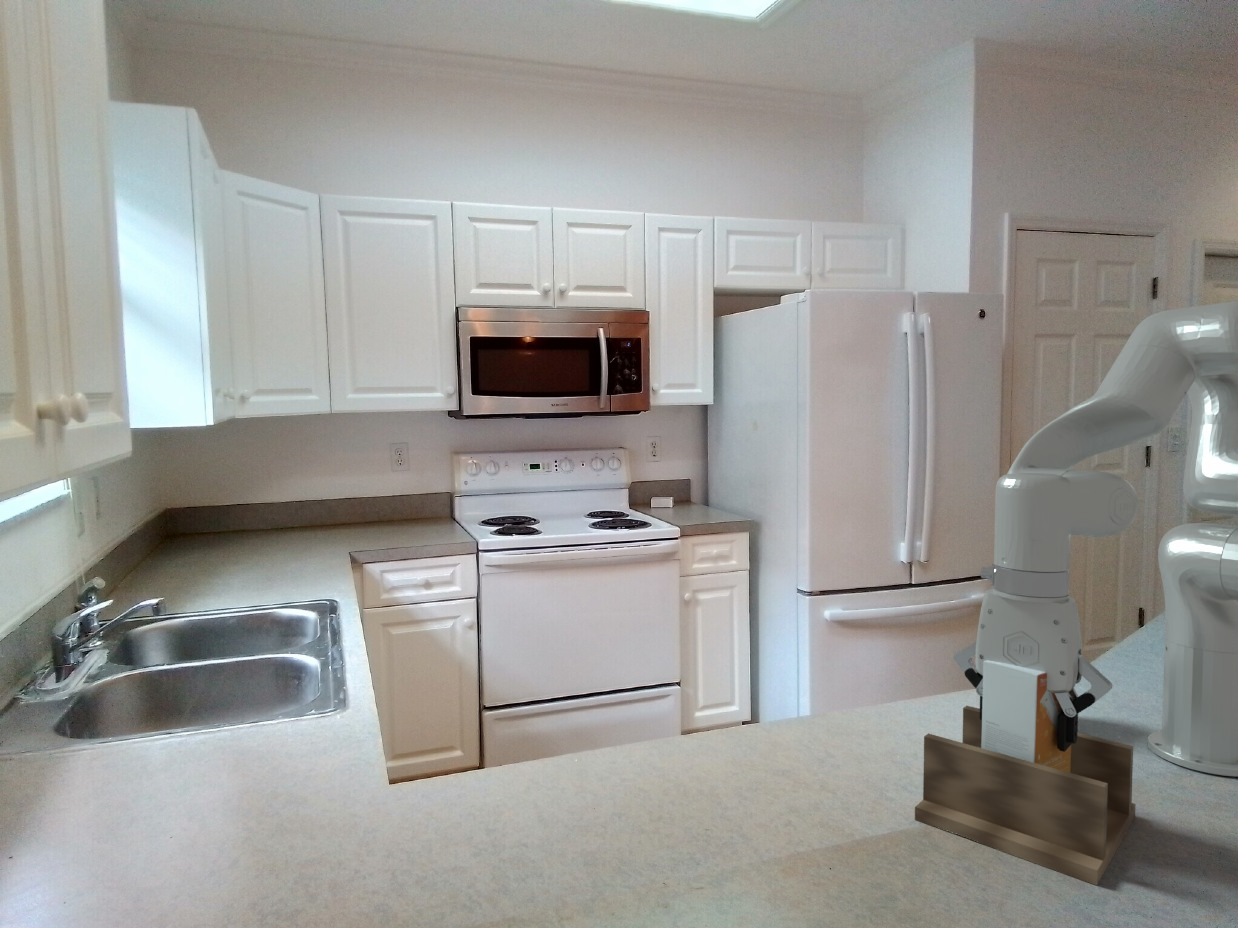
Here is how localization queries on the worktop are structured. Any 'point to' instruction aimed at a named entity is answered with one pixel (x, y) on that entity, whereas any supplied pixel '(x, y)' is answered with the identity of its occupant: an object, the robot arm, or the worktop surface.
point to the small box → (1021, 715)
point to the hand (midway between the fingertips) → (1026, 736)
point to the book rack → (1031, 800)
